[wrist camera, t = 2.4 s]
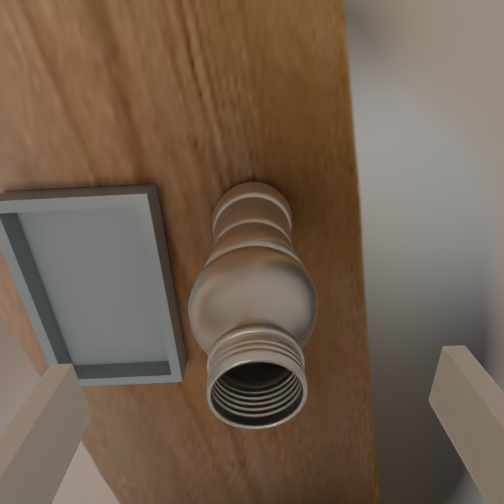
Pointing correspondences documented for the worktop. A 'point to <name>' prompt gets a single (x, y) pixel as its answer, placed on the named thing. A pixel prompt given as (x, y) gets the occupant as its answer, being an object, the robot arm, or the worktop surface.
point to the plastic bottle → (253, 310)
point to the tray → (96, 281)
